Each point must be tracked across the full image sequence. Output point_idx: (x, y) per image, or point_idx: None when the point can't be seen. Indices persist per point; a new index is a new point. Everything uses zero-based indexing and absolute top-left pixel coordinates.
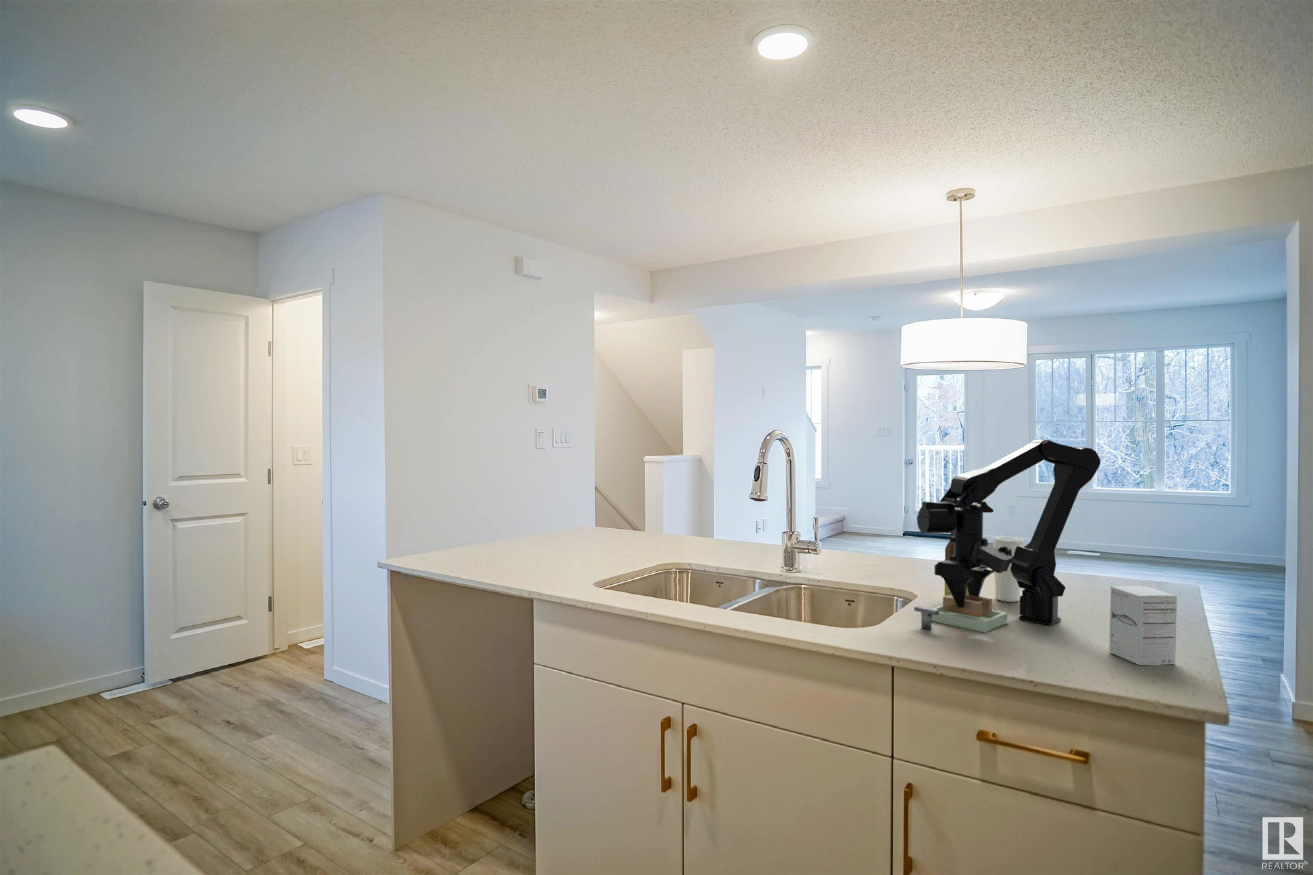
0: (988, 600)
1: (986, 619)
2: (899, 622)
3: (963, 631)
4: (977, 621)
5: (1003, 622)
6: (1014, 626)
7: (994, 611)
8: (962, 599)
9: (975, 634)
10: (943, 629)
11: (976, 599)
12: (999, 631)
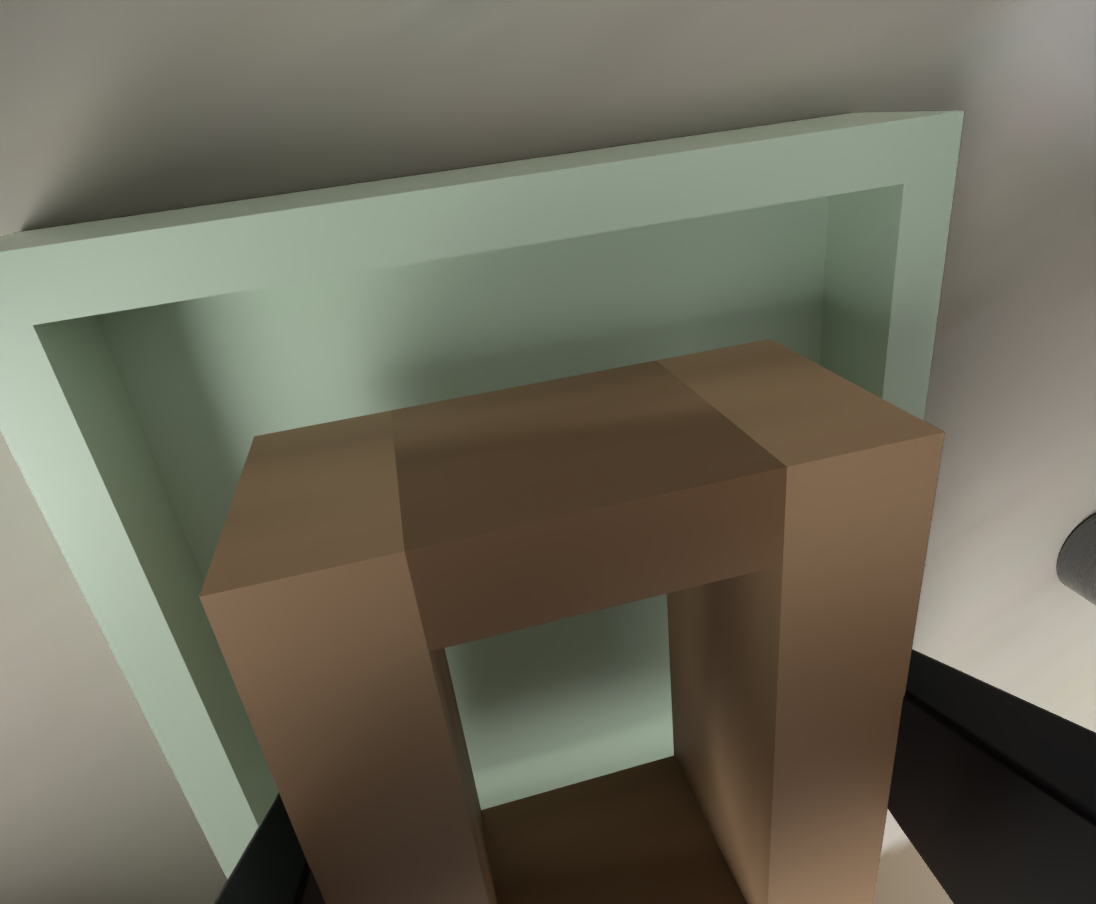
0: (438, 538)
1: None
2: None
3: (975, 305)
4: (937, 244)
5: (180, 209)
6: (90, 4)
7: (102, 476)
8: (1013, 700)
9: (1011, 139)
10: (1030, 461)
11: (456, 754)
12: (635, 3)
